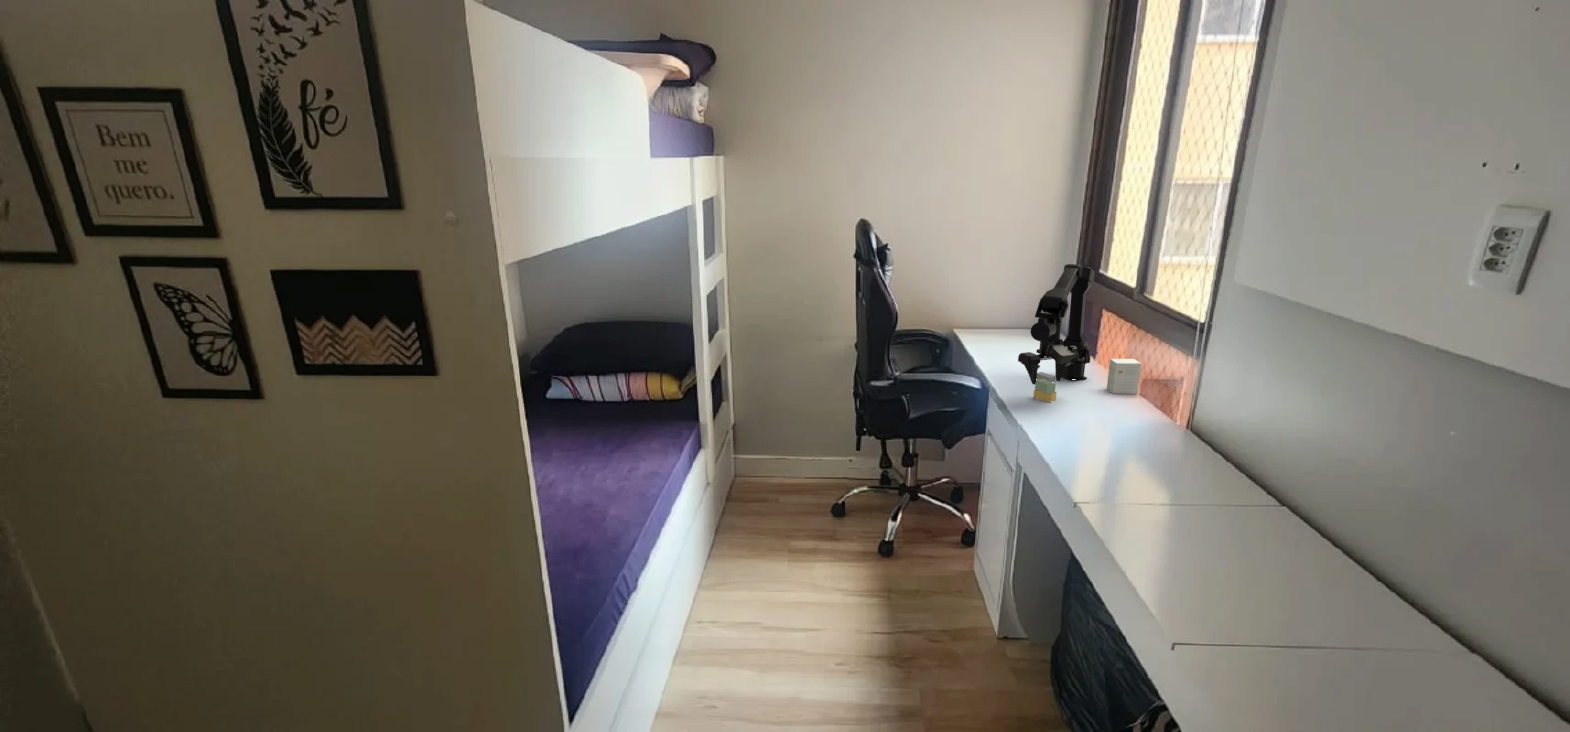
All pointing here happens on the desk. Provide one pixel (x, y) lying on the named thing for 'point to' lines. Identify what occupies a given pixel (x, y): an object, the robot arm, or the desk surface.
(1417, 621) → the desk surface
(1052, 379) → the slate brick
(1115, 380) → the small box
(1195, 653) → the desk surface
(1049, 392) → the sage brick
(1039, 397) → the ochre brick
